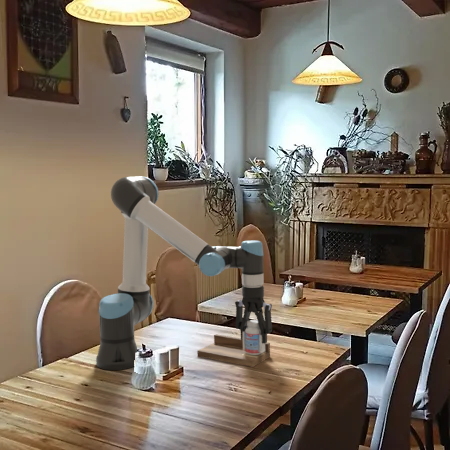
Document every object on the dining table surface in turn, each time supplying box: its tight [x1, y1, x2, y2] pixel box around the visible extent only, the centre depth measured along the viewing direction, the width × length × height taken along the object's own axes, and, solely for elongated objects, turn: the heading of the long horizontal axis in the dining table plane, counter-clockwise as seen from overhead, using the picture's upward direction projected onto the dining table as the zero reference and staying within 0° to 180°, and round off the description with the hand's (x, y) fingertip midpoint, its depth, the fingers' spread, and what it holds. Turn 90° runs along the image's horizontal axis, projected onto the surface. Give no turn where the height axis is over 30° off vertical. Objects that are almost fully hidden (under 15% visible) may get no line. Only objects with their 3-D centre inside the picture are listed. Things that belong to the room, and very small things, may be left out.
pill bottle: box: [245, 319, 261, 355], centre depth 206 cm, size 6×6×11 cm
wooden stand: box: [196, 333, 271, 367], centre depth 210 cm, size 12×23×5 cm, turn 56°
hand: (254, 350), depth 206 cm, fingers closed on pill bottle, 6 cm apart
